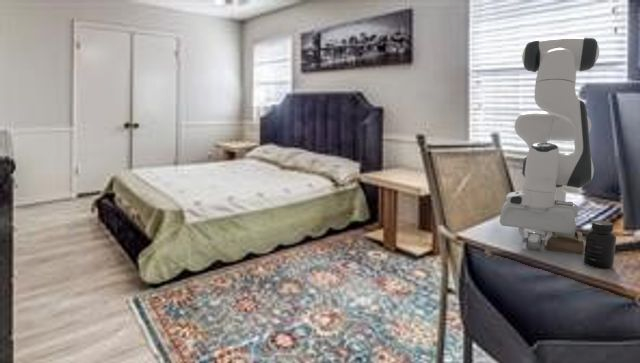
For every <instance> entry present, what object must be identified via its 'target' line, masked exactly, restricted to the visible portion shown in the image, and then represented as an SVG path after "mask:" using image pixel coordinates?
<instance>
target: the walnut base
mask: <svg viewBox="0 0 640 363" xmlns="http://www.w3.org/2000/svg"><path fill="white" fill-rule="evenodd" d="M546 236H547V231H545V235H544V238H545V237H546ZM544 249H545V250H548V249H551V250H550V251H555V250H557V252H561V253H562V252H563V253H570V254H576V255H577V254H578V255H584V253H585V241H584V237H583V233H582V231H579V230H575V236H574V238H566V237H559V236H555V232H552V236H551V237H550V238H549V240H547V246H546V245H544Z"/></svg>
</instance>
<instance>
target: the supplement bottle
mask: <svg viewBox="0 0 640 363" xmlns="http://www.w3.org/2000/svg"><path fill="white" fill-rule="evenodd" d="M585 237H586V238H585V243H584V252H583V255H584V256H583V262H584V264H585V265H586V266H588V267H591V268H595V269H600V270H608V269H611V268H612V267H613V266H614V260H615V253H616V244H617V236H616V234H615V233H614V223H613V222H610V221H606V220H601V219H600V220H598V219H597V220H593V221H592V223H591V230H589V231H587V232H586V236H585Z"/></svg>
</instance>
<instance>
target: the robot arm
mask: <svg viewBox="0 0 640 363" xmlns="http://www.w3.org/2000/svg"><path fill="white" fill-rule="evenodd" d="M521 56H522V57H521V58H522V60H521V61H522V64H523V67H524V69H525V70H527V71H528V72H532V73H537V74H536V79H535V84H534V85H535V86H534V101H535V104H536V106H538V107H539V109H541V110H542V111H540V110H533V111H527V112H526V111H525V112H522V113H520V114H519V115H518V116H517V118H516V120H515V122H514V130H515V133H516V134H517V136H518V137H519V138H520V139H522V141H524V143H525V144H526V145H527V146H528V152H527V156H526V157H524V158H523V161H522V162H523V163H522V173H521V174H522V175H523V177H524V184H523V186H522V190H517V191H511V192H509V193H507V194H506V197H505V202H504V204H503V206H502V208H501V211H500V215H499V224H500V225H501V226H502V227H512V228H518V234H520V236H521V243H526V244H527V235H525V234H524V232H525V229H527V230H532V231H540V232H541V231H542V232H546V231H547V236H546V237H545V236H544V237H542V243H541V246H545V245H546V246H547V240H549V238H550V237H551V236H552V232H557V233H565V234H572V233H574V232H575V231H576V228H575V223H576V217H578V214H579V210H580V209H579V206H578V205H577V204H576V203H574V202H573V201H567V200H566V199H567V192H566V191H565V190H564V188H563V187H564V186H566V187H571V188H577V189H580V188H583V187H585V186H586V185H588V184H590V183H591V182H592V180H593V177H594V173H595V169H594V168H595V167H594V163H593V159H592V156H591V145H590V143H591V142H590V132H591V130H592V121H591V119H590V117H589V115H588V112H587V107H586V104H585V101H583V100H582V99H579V97H578V95H577V93H576V83H577V71H579V72H583V71H584V72H585V71H589V70H590V69H592V68H593V67H595V64H596V63H597V61H598V59H599V56H600V47H599V44H598V41H597V40H596V38H593V37H589V36H588V37H587V36H584V37H577V36H576V37H574V36H571V37H570V36H561V37H552V38H545V39H540V38H539V39H534V40H531V41H529V42H528V43H527V44H526V46H525V47H524V49H523V51H522V55H521ZM550 141H557V142H574V151H573V152H572V153H566V152H560V151H559V150H560V149H559V146H558V145H556V144H553V143H551V142H550Z"/></svg>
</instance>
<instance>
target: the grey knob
mask: <svg viewBox="0 0 640 363" xmlns="http://www.w3.org/2000/svg"><path fill="white" fill-rule="evenodd" d="M526 236H527V243H526V245H525V248H526V249H527V250H528V251H533V252H534V251H535V252H539V251H538V250H540V251H541V249H542V245H541V243H542V238H543V232H541V231H540V230H528V231H527V235H526Z"/></svg>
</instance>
